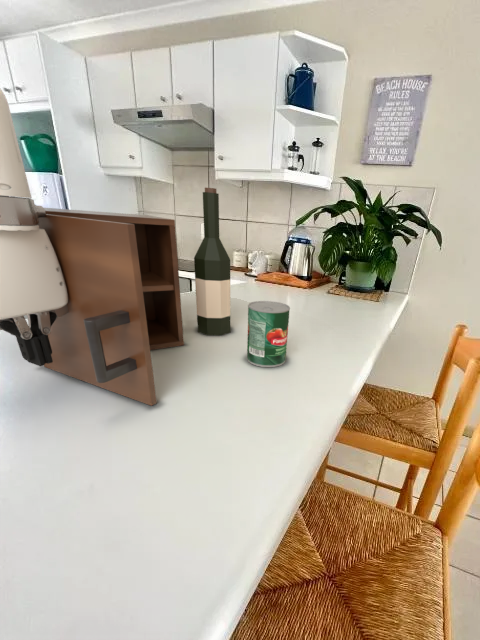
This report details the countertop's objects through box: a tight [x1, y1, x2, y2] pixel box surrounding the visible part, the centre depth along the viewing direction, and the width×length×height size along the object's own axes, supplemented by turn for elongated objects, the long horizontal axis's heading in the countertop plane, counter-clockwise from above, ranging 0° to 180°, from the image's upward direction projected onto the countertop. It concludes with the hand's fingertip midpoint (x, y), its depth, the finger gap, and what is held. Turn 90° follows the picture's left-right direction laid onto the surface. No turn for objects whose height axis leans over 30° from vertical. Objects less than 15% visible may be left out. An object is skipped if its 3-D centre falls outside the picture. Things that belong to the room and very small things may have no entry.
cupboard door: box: [38, 214, 158, 407], centre depth 43 cm, size 6×24×24 cm, turn 65°
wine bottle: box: [193, 187, 231, 336], centre depth 72 cm, size 8×8×30 cm
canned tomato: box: [246, 300, 291, 368], centre depth 63 cm, size 8×8×11 cm
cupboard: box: [43, 207, 185, 351], centre depth 63 cm, size 18×24×24 cm
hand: (40, 362), depth 45 cm, fingers closed
